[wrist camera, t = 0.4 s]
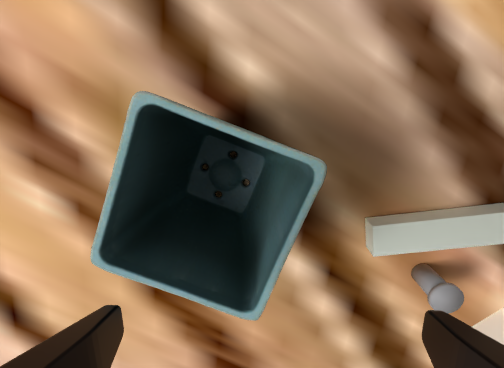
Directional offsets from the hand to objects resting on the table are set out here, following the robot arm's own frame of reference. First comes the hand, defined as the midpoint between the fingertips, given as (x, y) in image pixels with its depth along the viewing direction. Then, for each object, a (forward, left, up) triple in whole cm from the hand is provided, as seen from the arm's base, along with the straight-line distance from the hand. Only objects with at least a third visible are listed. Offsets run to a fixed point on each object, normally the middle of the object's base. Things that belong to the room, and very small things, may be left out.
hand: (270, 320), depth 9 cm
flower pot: (+2, +3, -14) cm, 14 cm away
